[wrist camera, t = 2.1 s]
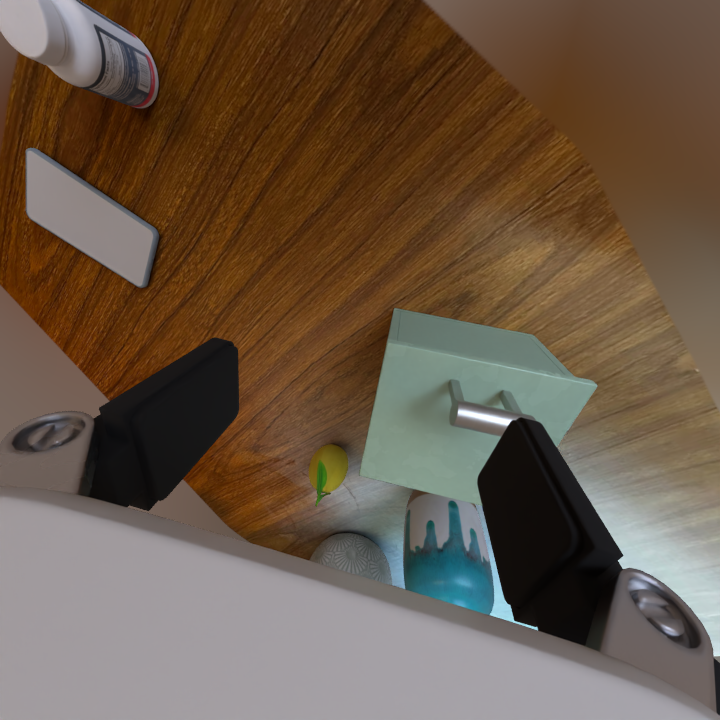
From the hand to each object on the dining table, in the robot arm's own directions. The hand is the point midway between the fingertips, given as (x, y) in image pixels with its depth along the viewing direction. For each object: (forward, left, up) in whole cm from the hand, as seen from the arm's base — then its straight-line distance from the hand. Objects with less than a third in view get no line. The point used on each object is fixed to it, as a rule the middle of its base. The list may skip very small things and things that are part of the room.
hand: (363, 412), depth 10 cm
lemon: (+27, -7, -24) cm, 37 cm away
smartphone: (-3, -36, -24) cm, 43 cm away
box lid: (+11, +7, -13) cm, 19 cm away
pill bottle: (-16, -26, -24) cm, 39 cm away
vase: (+33, +10, -24) cm, 42 cm away
